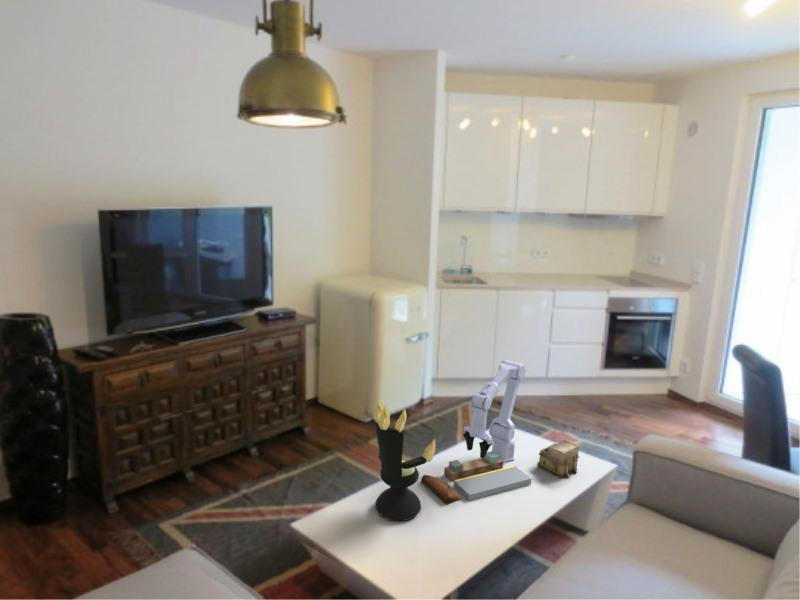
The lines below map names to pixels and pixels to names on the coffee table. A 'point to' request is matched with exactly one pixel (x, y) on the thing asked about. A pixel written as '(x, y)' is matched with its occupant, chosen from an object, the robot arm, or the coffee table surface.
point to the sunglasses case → (441, 489)
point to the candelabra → (397, 468)
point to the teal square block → (492, 457)
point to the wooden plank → (473, 469)
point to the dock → (491, 482)
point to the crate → (455, 466)
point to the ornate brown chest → (559, 458)
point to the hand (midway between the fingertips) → (476, 453)
